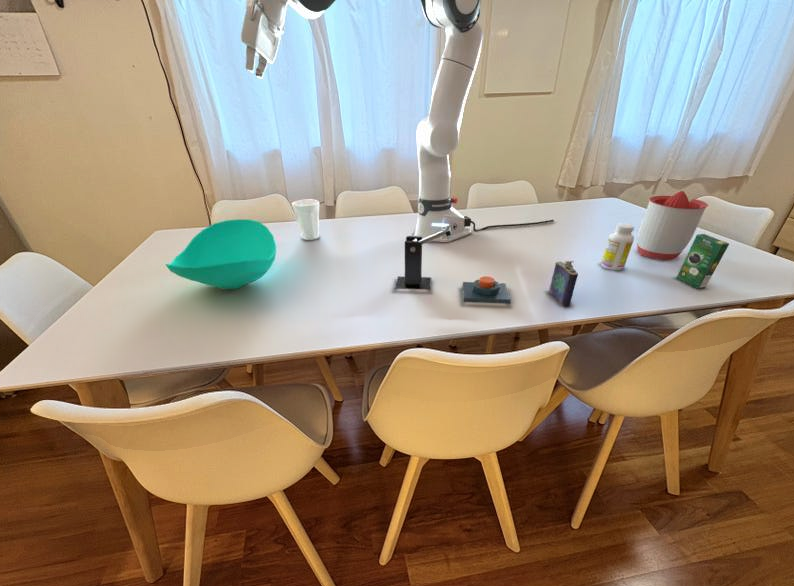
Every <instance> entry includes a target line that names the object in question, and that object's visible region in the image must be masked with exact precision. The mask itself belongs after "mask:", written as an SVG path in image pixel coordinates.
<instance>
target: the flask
mask: <svg viewBox="0 0 794 586" xmlns="http://www.w3.org/2000/svg"><path fill="white" fill-rule="evenodd" d="M572 263H575V262H574V260H565V261H564V262H563V261H556V262H555V263H554V264H555V265H554V269H553V273H552V277H551V281H550V285H549V290H548V295H549V296H551V297H553V299H554V300H556V301H557V303H559V305H561V306H562V307H564V308H569V307H570V306H571V303H572V298H573V296H574V290H575V287H576V283H577V280H578V277H579V273H578V272H577V271H576V269H575V268H574V266H573V265H572Z"/></svg>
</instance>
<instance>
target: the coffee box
mask: <svg viewBox="0 0 794 586" xmlns="http://www.w3.org/2000/svg"><path fill="white" fill-rule="evenodd" d="M729 245H730V243H729V242H726V241H723V240H721V239H719V238H716V237H713V236H711V235H708V234H706V233H699V234H698V233H697V234H696V235H695V237H694V239H693V242H692V244H691V246H690V248H689V250H688V251H687V254H686V256H685V259H684V261H683V263H682V265H681V266H680V269H679V271H678V274H677V275H676V279H677V280H679V281H681V282H683V283H685V284H687V285H689V286H691V287H692V288H696V289H697V290H701V289H706V287H707V286H708V284H709V282H710V280H711V278H712V276H713V274H714V273H715V271H716V269H717V267H718V266H719V264H720V262H721V260H722V259H723V257H724V255H725V253H726V252H727V249H728V247H729Z"/></svg>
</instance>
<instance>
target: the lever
mask: <svg viewBox="0 0 794 586" xmlns="http://www.w3.org/2000/svg"><path fill="white" fill-rule="evenodd" d="M445 234H446V236H449V235H451V228H450V225H448V226H446V227H445V230H442V231H440V232H438V233H436V234H433V235H431V236H429V237H426V238H424V239H422V240H420V241H422V243H421V245H422V246H423V245H424V244H427V243H429V242H432V241H431V240H434V239H436V238H438V237H441V236H443V235H445ZM412 241H418V240H417V238H416V239H414V240H412Z"/></svg>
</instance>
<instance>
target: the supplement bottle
mask: <svg viewBox="0 0 794 586" xmlns="http://www.w3.org/2000/svg"><path fill="white" fill-rule="evenodd" d="M634 229H635V226H634V225H633V224H630V223H625V222H624V223H623V222H621V223H617V224H616V226H615V231H614V232H612V233H610V235H609V237H608V240H607V243H606V246H605V250H604V253H603V256H602V259H601V263H600V264H601V267H603V268H604V269H605V270H611V271H621V270H623V269H624V268H625V266H626V263H627V260H628V257H629V254H630V252H631V250H632V246H633V243H634V240H635V236H634V235H633V234H632V233H633V231H634Z"/></svg>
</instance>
